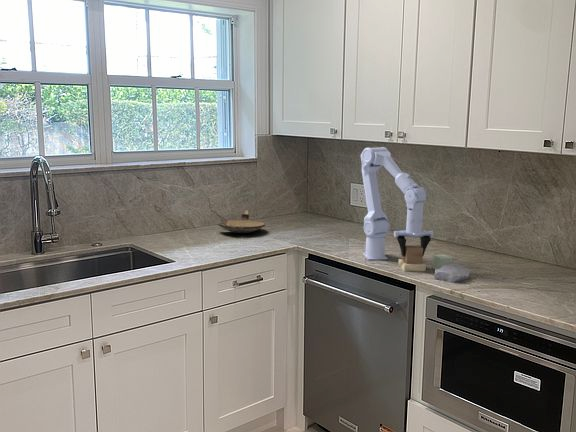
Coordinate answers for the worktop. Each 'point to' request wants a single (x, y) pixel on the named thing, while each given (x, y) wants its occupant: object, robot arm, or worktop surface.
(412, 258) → the walnut cube
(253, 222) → the oil lamp
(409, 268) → the oak block
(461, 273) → the stone block
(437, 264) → the sage cube
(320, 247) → the worktop surface
